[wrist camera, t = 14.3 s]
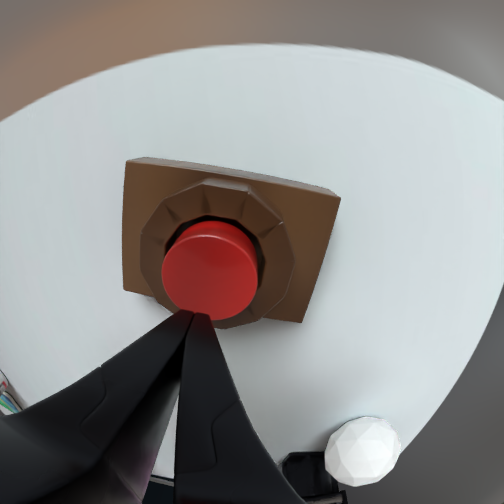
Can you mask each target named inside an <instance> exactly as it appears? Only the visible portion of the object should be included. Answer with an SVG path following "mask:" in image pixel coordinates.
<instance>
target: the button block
mask: <svg viewBox="0 0 504 504" xmlns="http://www.w3.org/2000/svg"><path fill="white" fill-rule="evenodd" d="M340 200H341V198H340V197H339V196H338V195H336V194H335V193H333V192H332V191H331V190H329V189H326V188H322V187H318V186H314V185H310V184H305V183H301V182H297V181H292V180H288V179H283V178H278V177H273V176H268V175H263V174H258V173H253V172H247V171H242V170H236V169H230V168H224V167H218V166H212V165H205V164H198V163H191V162H184V161H176V160H167V159H159V158H149V157H142V158H137V159H132V160H127V161H126V167H125V178H124V192H123V213H122V268H123V289H124V290H126V291H130V292H134V293H138V294H143V295H147V296H151V297H155V299H156V301H157V302H158V303H160V304H161V305H162V306H164V307H165V308H167V309H168V310H169V311H171V312H172V313H176V312H177V311H179V310H180V308H179V307H177V306H176V305H175V304H174V303H173V302H172V300H171V299H170V298H169V296H168V295H167V293H166V291H165V288H164V285H163V281H162V264H163V261H164V258H165V256H166V254H167V253H168V251H169V250H170V248H171V247H172V246H173V244H174V243H175V242H176V240H177V239H178V238H179V236H180V235H181V234H182V233H183V232H184V231H185V230H186V229H187V228H189V227H190V226H192V225H194V224H197V223H200V222H204V221H221V222H225V223H228V224H231V225H233V226H235V227H237V228H238V229H240V230H241V231H242V232H243V233H244V234H246V235H247V237H248V238H249V239H250V241H251V242H252V244H253V246H254V248H255V250H256V254H257V265H258V284H257V290H256V293H255V296H254V298H253V300H252V301H251V302H250V304H249V305H248V306H247V307H246V308H245V309H244V310H243V311H241V312H240V313H238V314H237V315H235V316H233V317H230V318H227V319H222V320H211V321H212V324H213V327H214V328H217V329H228V328H232V327H236V326H240V325H244V324H248V323H251V322H255V321H258V320H260V319H261V318H268V319H275V320H282V321H289V322H297V323H302V321H303V318H304V315H305V313H306V310H307V307H308V304H309V301H310V298H311V295H312V293H313V290H314V287H315V284H316V281H317V278H318V275H319V271H320V268H321V265H322V262H323V259H324V256H325V253H326V249H327V246H328V243H329V239H330V236H331V233H332V229H333V226H334V222H335V219H336V215H337V212H338V208H339V204H340Z"/></svg>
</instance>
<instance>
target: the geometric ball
mask: <svg viewBox="0 0 504 504" xmlns="http://www.w3.org/2000/svg"><path fill="white" fill-rule="evenodd" d="M400 452H401V444H400V440H399V435H398V432H397V431H396V430H395V429H394V428H393V427H392V426H391V425H390V424H389V423H388V422H387V421H386V420H385V419H379V418H373V417H367V416H364V417H361V418H358V419H355V420H352V421H348V422H346V423H345V424H344V425H343V426H342V427H340V428H339V429H338V430H337V431H336V432H334V433H333V434H332V435H331V436H330V438H329V441H328V444H327V447H326V450H325V468H326V470H327V471H328V472H329V473H330V474H331V475H332V476H333V477H334V478H335V479H336V480H337V481H338V482H341V483H344V484H347V485H351V486H354V487H356V486H361V485H365V484H370V483H374V482H378V481H379V480H380V479H381V478H382V477H384V476H385V475H386V474H387V473H388V472H390V471H391V470H392V469H393V467H394V465H395V463H396V461H397V459H398V456H399V454H400Z"/></svg>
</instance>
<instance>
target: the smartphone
mask: <svg viewBox="0 0 504 504" xmlns="http://www.w3.org/2000/svg"><path fill="white" fill-rule="evenodd" d="M0 404H1V405H2V406H4V407H5V408H7V409H8V410H10V411H12V412H13V413H17V412H20V411H22V410H21V409H20V408H19V406H18V405H17V404H16V402H15V401H14V400H13V398H12V397H11V396H10V395H9V394H8V393H6V392H3V394H2V395H1V397H0Z"/></svg>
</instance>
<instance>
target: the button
mask: <svg viewBox="0 0 504 504" xmlns="http://www.w3.org/2000/svg"><path fill="white" fill-rule="evenodd" d="M162 281H163V285H164V288H165V291H166V293H167V295H168V296H169V298H170V299H171V300H172V302H173V303H174V304H175V305H176V306H177V307H179V308H180V309H185V310H190V311H194V313H196V312H200V313H205V314H209V315H210V318H211V320H222V319H227V318H230V317H233V316H235V315H237V314H238V313H240V312H241V311H243V310H244V309H245V308H246V307H247V306H248V305H249V304H250V302H251V301H252V300H253V298H254V296H255V293H256V290H257V284H258V265H257V254H256V250H255V248H254V246H253V244H252V242H251V241H250V239H249V238H248V237H247V235H246V234H244V233H243V232H242V231H241V230H240V229H238V228H237V227H235V226H233V225H231V224H228V223H225V222H221V221H204V222H200V223H197V224H194V225H192V226H190V227H189V228H187V229H186V230H185V231H184V232H183V233H182V234H181V235H180V236H179V238H178V239H177V240H176V242H175V243H174V244H173V246H172V247H171V248H170V250H169V251H168V253H167V254H166V256H165V258H164V261H163V264H162Z"/></svg>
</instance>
